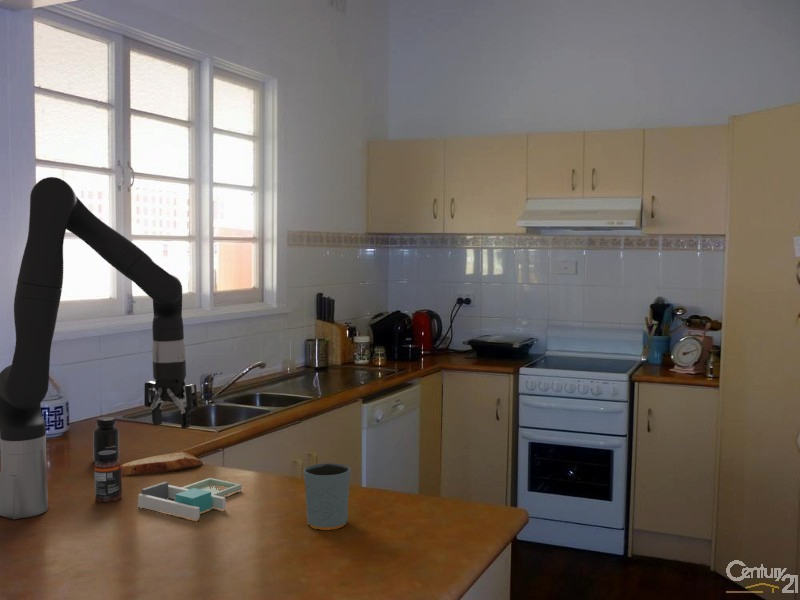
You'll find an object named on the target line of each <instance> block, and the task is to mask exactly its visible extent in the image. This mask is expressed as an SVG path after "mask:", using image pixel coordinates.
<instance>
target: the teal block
mask: <svg viewBox="0 0 800 600" xmlns="http://www.w3.org/2000/svg"><path fill="white" fill-rule="evenodd" d="M174 501H175V502H179V503H183V504H187V505H191V506H196V507H199V511H200V512H202V511H205V510H207V509H210V508H211V492H209V491H205V490H200V489H196V488H192V489H189V490H187V491H184V492H181V493H178V494H175V500H174Z"/></svg>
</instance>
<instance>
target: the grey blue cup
mask: <svg viewBox="0 0 800 600" xmlns="http://www.w3.org/2000/svg"><path fill="white" fill-rule="evenodd" d="M351 470H352V469H351V467H350V466H348V465H346V464H342V463H334V462H333V463H332V462H331V463H330V462H328V463H327V462H326V463H317V464H311V465H308V466H306V467H305V468H304V469H303V479H304V485H305V486H304V488H305V504H306V505H305V506H306V519H307V521H308V522H307V521H306V522H307V524H308V523H309V524H311V525H313V526H317V527H323V528H325V527H326V528H327V527H336V526H340V525H343V524H345V523H346V522H347V523H348V520H349V519H348V517H349V509H348V506H349V498H350V496H349V495H350V493H349V491H350V483H351V482H350V481H351V472H352V471H351Z"/></svg>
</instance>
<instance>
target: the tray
mask: <svg viewBox="0 0 800 600" xmlns="http://www.w3.org/2000/svg"><path fill="white" fill-rule="evenodd" d="M209 485H210V486H211V485H213V486H212V487H213V488H212V487H211V489H210V487H209ZM214 485H215V486H214ZM216 485H217V486H224V487H228V488H226V489H224V490H221V491H219V490H218V488H217V490H216V488H215V487H216ZM242 486H243V485H242V484H240V483H235V482H231V481H226V480H222V479H218V478H212V477H208V478H205V479H203V480H199V481H197V482H193V483H191V484H187V485H185V486H182V487H181V488H185V489H192V488H196V489H200V490H205V491H209V492H211V494H212V495H216V496H221V497H222V496H224V495H227V494H229V493H232V492H235V491H238V490H241V489H243V488H242ZM219 489H220V488H219Z"/></svg>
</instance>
